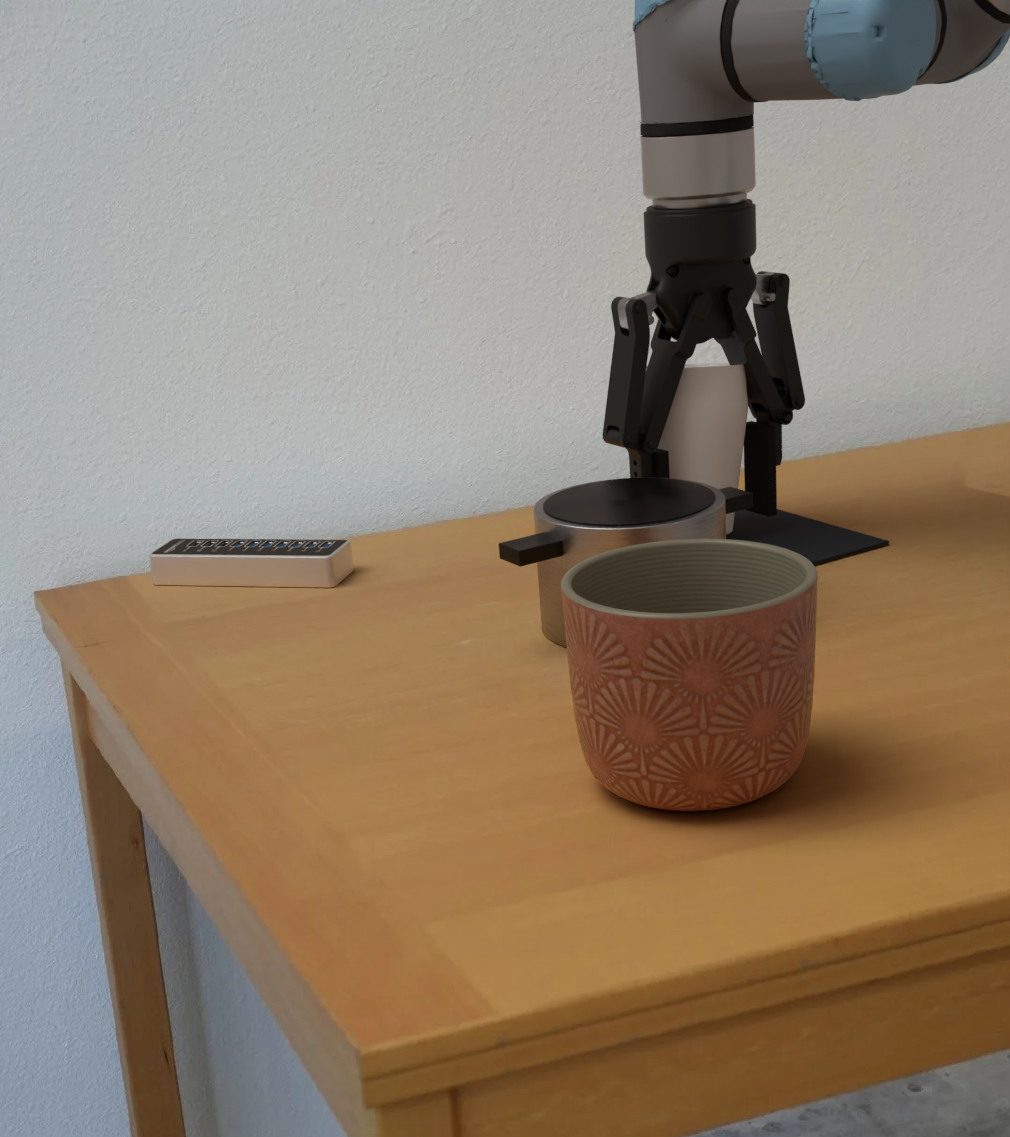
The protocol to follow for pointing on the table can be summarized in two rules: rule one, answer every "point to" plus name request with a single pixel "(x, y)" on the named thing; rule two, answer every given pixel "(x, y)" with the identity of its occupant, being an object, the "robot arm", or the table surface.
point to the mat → (802, 535)
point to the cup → (708, 426)
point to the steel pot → (614, 528)
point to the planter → (692, 669)
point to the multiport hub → (252, 562)
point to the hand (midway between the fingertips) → (709, 525)
